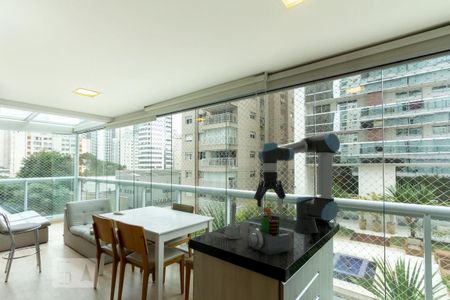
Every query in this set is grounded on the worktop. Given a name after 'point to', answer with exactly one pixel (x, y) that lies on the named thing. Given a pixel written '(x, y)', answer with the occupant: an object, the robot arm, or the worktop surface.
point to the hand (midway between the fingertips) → (270, 212)
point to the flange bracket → (268, 241)
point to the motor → (270, 223)
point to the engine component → (233, 225)
